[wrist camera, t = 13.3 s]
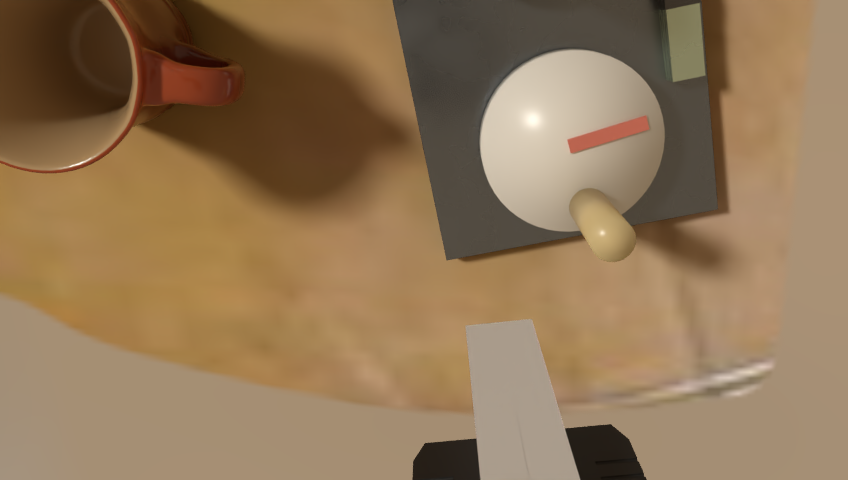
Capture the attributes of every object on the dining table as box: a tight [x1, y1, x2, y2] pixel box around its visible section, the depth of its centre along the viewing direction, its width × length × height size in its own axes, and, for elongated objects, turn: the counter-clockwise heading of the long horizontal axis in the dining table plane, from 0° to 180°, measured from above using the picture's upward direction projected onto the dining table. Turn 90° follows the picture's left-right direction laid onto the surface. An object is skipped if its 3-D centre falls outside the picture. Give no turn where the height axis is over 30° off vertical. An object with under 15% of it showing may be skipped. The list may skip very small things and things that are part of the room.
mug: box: [0, 0, 245, 173], centre depth 33 cm, size 12×9×10 cm
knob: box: [479, 48, 665, 262], centre depth 35 cm, size 9×9×7 cm
